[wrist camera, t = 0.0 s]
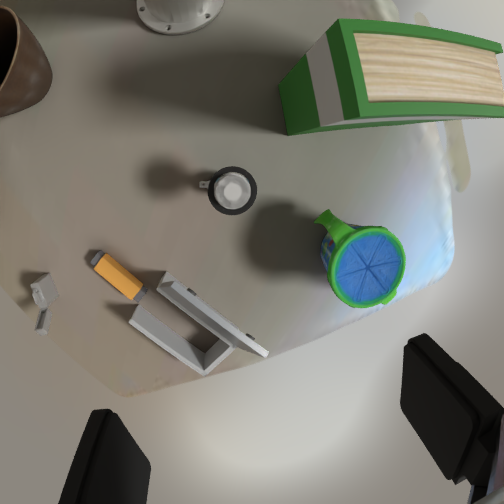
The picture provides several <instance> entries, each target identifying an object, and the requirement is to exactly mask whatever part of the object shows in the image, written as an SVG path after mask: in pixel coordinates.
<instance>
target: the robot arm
mask: <svg viewBox="0 0 504 504" xmlns="http://www.w3.org/2000/svg"><path fill="white" fill-rule="evenodd" d="M223 3H224V0H137V2H136V7H137V12H138V15H139V17H140V19H141V20H142V22H143V23H144V24H145V25H146V26H147V27H149V28H150V29H151V30H154V31H156V32H158V33H162V34H168V35H179V34H186V33H190V32H193V31H196V30H199V29H201V28H202V27H204V26H206V25H207V24H209V23H210V22H211V21H212V20H214V18H215V17H216V16H217V15H218V14H219V12H220V10H221V9H222V6H223ZM143 10H144V11H143ZM206 17H209V18H207V19H206ZM168 29H170V30H168ZM403 357H404V358H403V373H402V388H401V399H400V405H401V409H402V411H403V413H404V415H405V416H406V418H407V419H408V421H409V422H410V424H411V425H412V427H413V428H414V430H415V431H416V433H417V434H418V436H419V437H420V439H421V440H422V442H423V443H424V445H425V447H426V448H427V450H428V451H429V452H430V454H431V456H432V457H433V459H434V460H435V462H436V464H437V465H438V467H439V468H440V470H441V471H442V473H443V475H444V476H445V477H446V479H448V480H451V479H452V480H453V482H454V483H455V485H456V484H458V483H460V482H461V481H463V480H465V479H467V480H468V481H469V482H470V484H471V490H470V494H469V498H468V502H467V504H504V408H503V407H502V406H501V405H500V404H499V403H498V402H497V401H496V400H495V399H494V398H493V396H491V395H490V393H489V392H488V391H486V389H485V388H484V387H483V386H482V385H481V384H480V383H479V382H478V381H477V380H475V378H474V377H473V376H472V375H471V374H470V373H469V372H468V371H467V370H466V369H465V368H464V367H463V366H461V364H459V363H458V362H455V361H454V360H453V359H452V358H451V357H450V356H449V355H448V354H447V353H446V352H445V351H444V350H443V349H442V348H441V347H440V346H439V345H438V344H437V343H436V342H435V341H434V340H433V339H432V338H431V337H430V336H429V335H427V334H425V333H423V334H421V335H418V336H416V337H413V338H411V339H409V340H408V344H407V345H405V346H404V355H403ZM150 472H151V466H150V462H149V460H148V459H147V457H146V456H145V455H144V453H143V452H142V450H141V449H140V448H139V446H138V445H137V444H136V442H135V440H134V439H133V437H132V436H131V434H130V433H129V432H128V430H127V428H126V427H125V426H124V424H123V422H122V421H121V419H120V418H119V416H118V415H117V414H116V413H113V412H112V411H111V410H110V409H99V410H93V411H92V413H91V415H90V417H89V420H88V422H87V425H86V427H85V430H84V432H83V435H82V437H81V440H80V443H79V445H78V448H77V451H76V454H75V456H74V459H73V462H72V465H71V467H70V471H69V473H68V476H67V479H66V482H65V485H64V488H63V491H62V494H61V497H60V500H59V503H58V504H146V501H147V494H148V485H149V479H150Z"/></svg>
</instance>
